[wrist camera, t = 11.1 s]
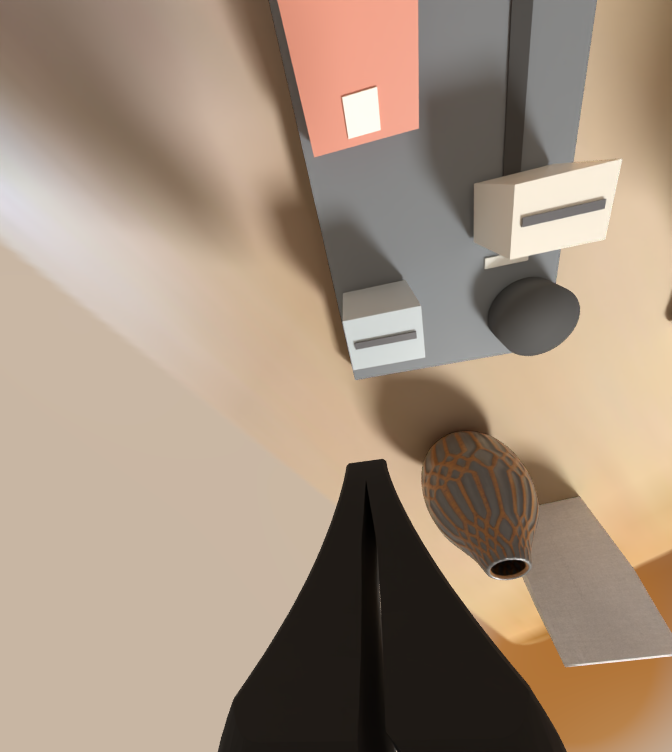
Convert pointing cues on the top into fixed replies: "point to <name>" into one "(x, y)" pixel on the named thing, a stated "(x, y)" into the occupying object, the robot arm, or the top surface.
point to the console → (453, 164)
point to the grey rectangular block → (590, 591)
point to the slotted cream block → (545, 208)
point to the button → (533, 316)
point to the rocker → (354, 68)
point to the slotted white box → (383, 325)
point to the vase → (482, 501)
